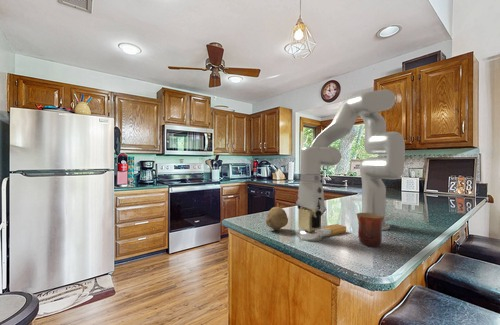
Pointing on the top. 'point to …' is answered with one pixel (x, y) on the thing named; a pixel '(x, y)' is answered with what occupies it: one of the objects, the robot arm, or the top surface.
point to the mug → (370, 229)
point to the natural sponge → (276, 218)
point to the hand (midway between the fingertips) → (309, 224)
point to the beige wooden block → (307, 219)
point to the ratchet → (320, 232)
